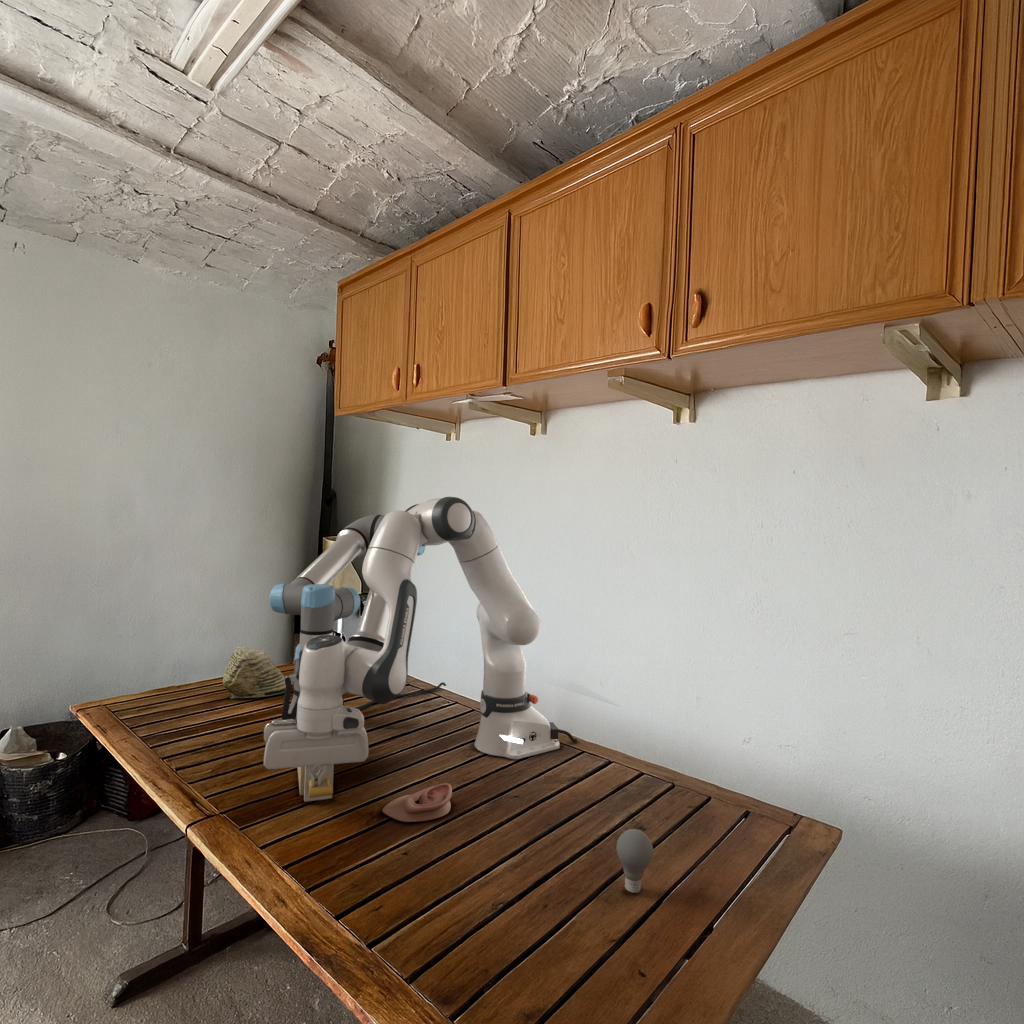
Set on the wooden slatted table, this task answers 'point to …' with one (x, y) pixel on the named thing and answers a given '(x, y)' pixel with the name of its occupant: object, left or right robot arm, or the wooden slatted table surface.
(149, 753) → the wooden slatted table surface
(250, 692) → the fossil
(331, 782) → the drawer
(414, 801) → the anatomical model
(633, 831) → the light bulb
